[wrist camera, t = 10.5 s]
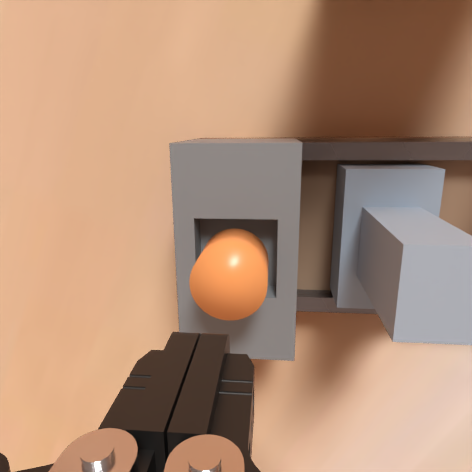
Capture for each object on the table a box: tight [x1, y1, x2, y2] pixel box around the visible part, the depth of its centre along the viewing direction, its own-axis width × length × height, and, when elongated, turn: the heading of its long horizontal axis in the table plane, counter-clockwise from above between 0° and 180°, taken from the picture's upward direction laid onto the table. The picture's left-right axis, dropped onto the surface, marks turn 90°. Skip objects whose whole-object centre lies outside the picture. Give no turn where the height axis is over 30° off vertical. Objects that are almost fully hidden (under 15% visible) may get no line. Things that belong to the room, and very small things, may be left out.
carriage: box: [330, 164, 472, 345], centre depth 19 cm, size 5×8×10 cm, turn 0°
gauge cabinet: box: [169, 138, 302, 361], centre depth 22 cm, size 6×11×6 cm, turn 0°
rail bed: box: [200, 137, 472, 290], centre depth 24 cm, size 25×11×4 cm, turn 90°
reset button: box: [189, 228, 269, 321], centre depth 17 cm, size 3×3×3 cm
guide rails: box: [296, 141, 472, 314], centre depth 23 cm, size 18×11×1 cm, turn 90°
